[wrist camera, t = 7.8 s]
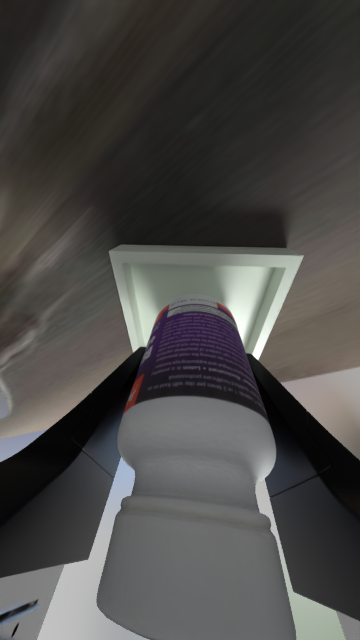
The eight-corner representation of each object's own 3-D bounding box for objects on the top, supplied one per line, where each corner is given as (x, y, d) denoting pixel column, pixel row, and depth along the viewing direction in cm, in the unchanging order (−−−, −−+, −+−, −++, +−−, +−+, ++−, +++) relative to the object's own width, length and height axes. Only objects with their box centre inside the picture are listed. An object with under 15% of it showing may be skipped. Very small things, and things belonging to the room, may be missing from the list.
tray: (142, 353, 16) (137, 368, 14) (121, 244, 10) (108, 250, 9) (245, 360, 15) (250, 377, 14) (287, 247, 9) (303, 255, 8)
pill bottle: (147, 295, 10) (-29, 624, 2) (236, 286, 9) (474, 760, 1) (164, 354, 13) (118, 578, 5) (232, 351, 12) (298, 611, 4)
